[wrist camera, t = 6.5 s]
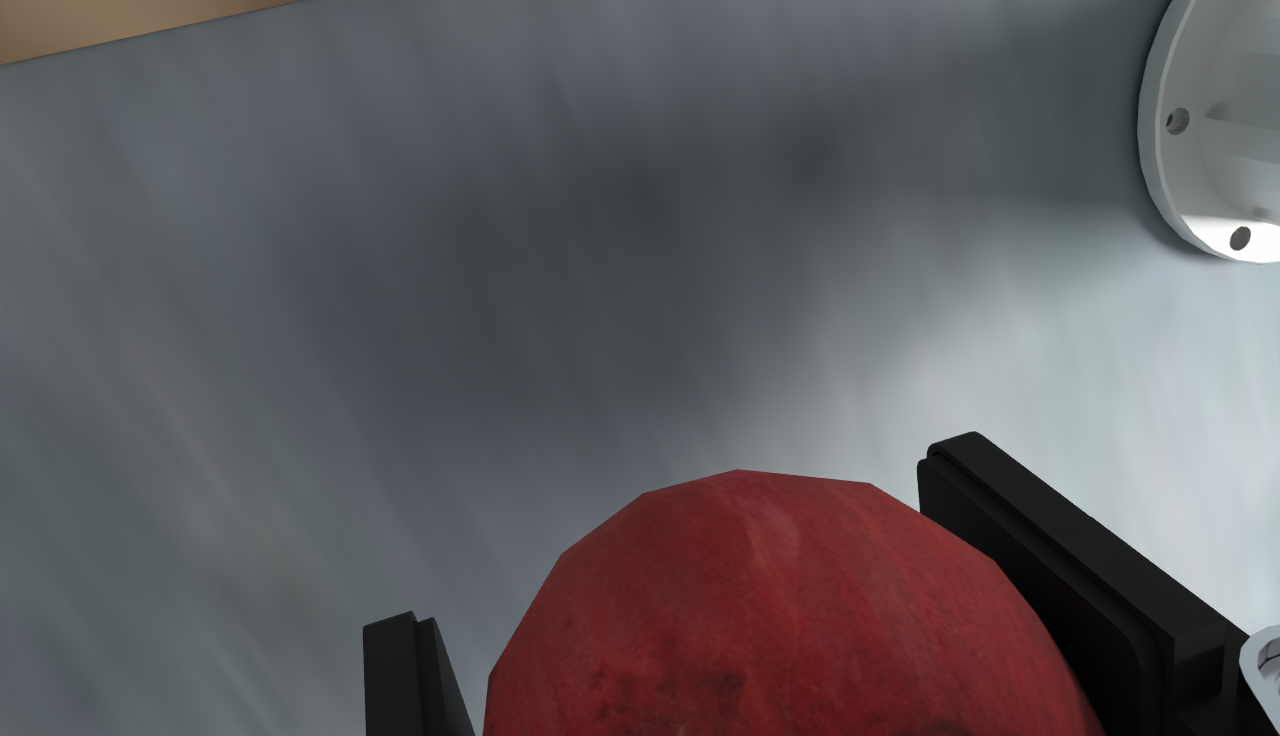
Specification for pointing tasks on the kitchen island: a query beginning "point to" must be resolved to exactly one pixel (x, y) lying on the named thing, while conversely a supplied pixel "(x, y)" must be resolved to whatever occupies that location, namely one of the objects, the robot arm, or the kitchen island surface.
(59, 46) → the cutting board
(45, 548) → the kitchen island surface
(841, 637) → the red round fruit
